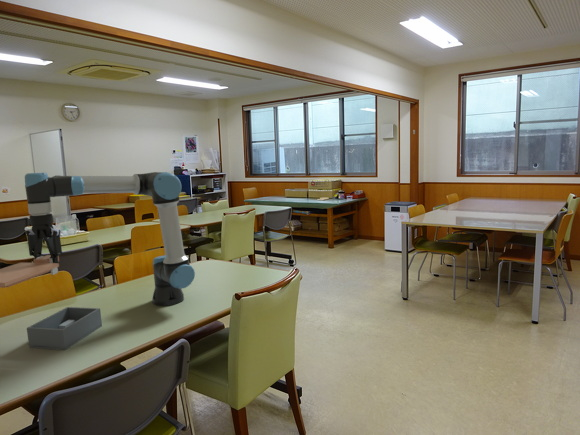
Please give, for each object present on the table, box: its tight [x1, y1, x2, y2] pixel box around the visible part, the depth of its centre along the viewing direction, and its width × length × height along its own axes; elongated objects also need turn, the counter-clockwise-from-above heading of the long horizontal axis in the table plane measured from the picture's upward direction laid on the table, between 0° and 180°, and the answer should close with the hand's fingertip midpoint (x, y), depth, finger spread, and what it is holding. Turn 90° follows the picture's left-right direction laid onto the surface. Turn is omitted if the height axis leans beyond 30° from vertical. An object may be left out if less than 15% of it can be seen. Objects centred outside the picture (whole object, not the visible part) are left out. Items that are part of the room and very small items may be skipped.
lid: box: [0, 254, 60, 289], centre depth 147 cm, size 17×30×4 cm, turn 169°
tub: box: [26, 306, 103, 351], centre depth 169 cm, size 16×22×8 cm
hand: (48, 273), depth 159 cm, fingers closed on lid, 5 cm apart
